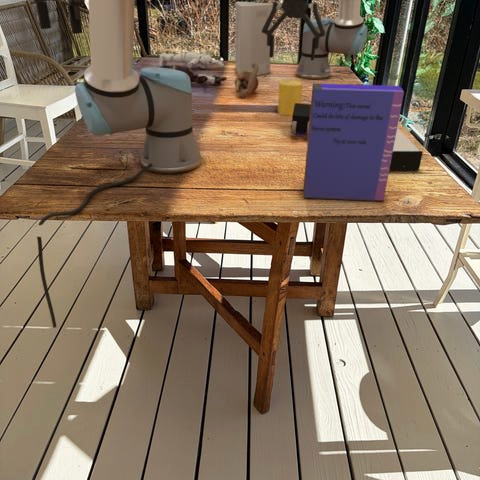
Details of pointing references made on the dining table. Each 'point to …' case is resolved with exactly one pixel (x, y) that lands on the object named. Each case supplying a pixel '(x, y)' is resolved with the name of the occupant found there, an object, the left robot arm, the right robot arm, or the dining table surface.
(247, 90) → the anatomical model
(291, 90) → the tin
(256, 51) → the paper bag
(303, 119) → the figurine character
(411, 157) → the disc drive
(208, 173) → the dining table surface
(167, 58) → the toy
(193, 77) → the figurine
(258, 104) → the dining table surface
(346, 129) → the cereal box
